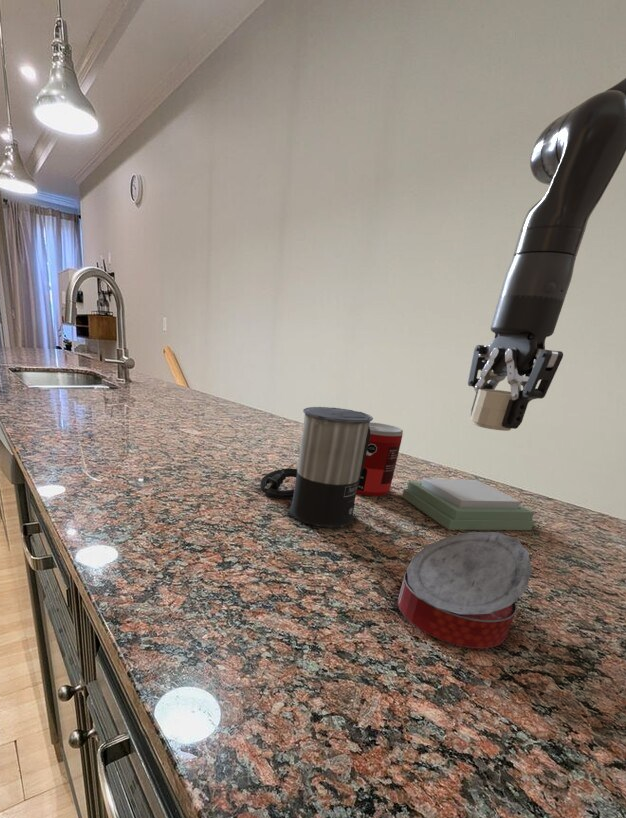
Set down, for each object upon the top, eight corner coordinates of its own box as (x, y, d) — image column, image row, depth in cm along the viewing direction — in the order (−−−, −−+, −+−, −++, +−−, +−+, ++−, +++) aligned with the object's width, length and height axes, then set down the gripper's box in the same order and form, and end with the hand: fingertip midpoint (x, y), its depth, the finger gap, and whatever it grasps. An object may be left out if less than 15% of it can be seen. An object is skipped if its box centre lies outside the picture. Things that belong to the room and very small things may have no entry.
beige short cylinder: (495, 423, 69) (505, 390, 67) (524, 432, 63) (536, 396, 61) (460, 421, 67) (470, 387, 66) (487, 430, 62) (499, 393, 60)
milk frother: (346, 535, 59) (369, 423, 53) (236, 509, 64) (246, 404, 58) (361, 502, 71) (381, 408, 65) (268, 483, 76) (278, 394, 70)
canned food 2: (491, 683, 42) (554, 640, 34) (383, 647, 43) (419, 597, 36) (490, 584, 48) (542, 528, 41) (396, 556, 50) (429, 498, 42)
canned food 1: (336, 481, 80) (347, 420, 76) (378, 483, 81) (391, 423, 77) (350, 496, 73) (363, 430, 69) (396, 498, 74) (411, 433, 70)
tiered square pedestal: (473, 488, 75) (476, 479, 75) (517, 511, 66) (521, 501, 66) (420, 486, 73) (422, 478, 73) (458, 510, 64) (461, 500, 64)
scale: (474, 499, 78) (479, 482, 77) (531, 530, 66) (538, 512, 65) (401, 497, 75) (405, 480, 74) (447, 530, 63) (453, 511, 62)
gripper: (604, 296, 53) (554, 435, 59) (515, 301, 66) (481, 415, 72) (552, 289, 51) (506, 433, 58) (471, 295, 64) (440, 412, 71)
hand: (492, 422), depth 65 cm, fingers closed on beige short cylinder, 6 cm apart
